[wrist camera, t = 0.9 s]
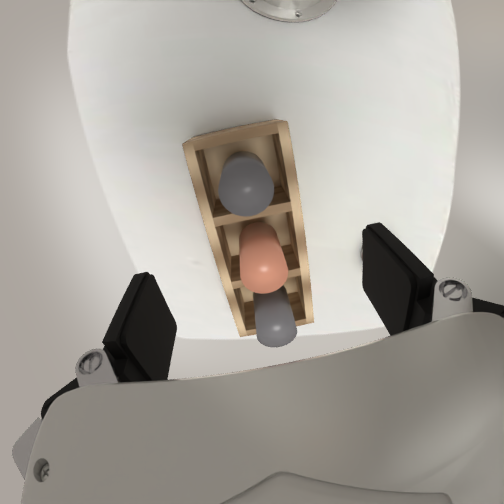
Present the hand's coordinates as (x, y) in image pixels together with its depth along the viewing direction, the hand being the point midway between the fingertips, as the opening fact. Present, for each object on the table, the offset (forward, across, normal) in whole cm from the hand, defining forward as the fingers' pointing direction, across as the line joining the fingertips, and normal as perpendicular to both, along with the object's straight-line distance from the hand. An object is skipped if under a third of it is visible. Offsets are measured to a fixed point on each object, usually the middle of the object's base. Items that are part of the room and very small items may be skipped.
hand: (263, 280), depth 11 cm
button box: (+24, 0, +8) cm, 26 cm away
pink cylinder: (+19, 0, +8) cm, 21 cm away
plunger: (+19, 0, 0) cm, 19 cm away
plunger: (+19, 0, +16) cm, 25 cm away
